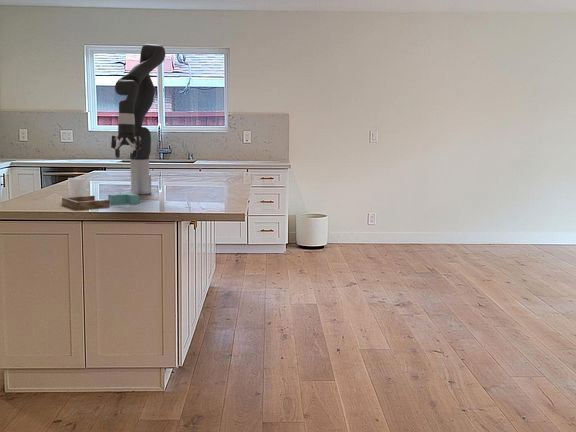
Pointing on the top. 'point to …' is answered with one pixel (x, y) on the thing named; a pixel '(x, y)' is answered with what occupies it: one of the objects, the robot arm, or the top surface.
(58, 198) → the top surface
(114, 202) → the teal T-block
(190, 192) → the top surface
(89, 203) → the walnut dock
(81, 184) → the white cup
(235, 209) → the top surface
